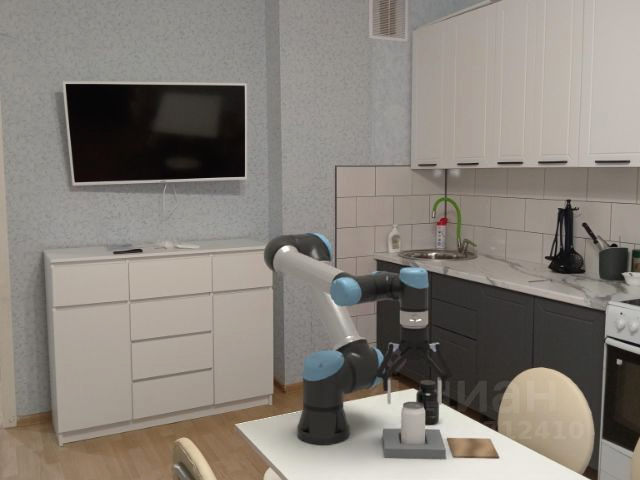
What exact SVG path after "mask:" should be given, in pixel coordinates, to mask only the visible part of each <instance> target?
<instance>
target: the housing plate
mask: <svg viewBox="0 0 640 480" xmlns="http://www.w3.org/2000/svg"><path fill="white" fill-rule="evenodd" d="M382 443H383V453H384V455H383V456H384V458H385V459H422V460H425V459H426V460H427V459H428V460H431V459H432V460H434V459H435V460H436V459H437V460H441V459H442V460H446V459H447V448H446V445H445V443H444V439H443V436H442V433H441V430H440V429H439V428H438V429H437V428H436V429H435V428H434V429H433V428H432V429H431V428H429V429H427V428H425V444H401V428H382Z"/></svg>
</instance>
